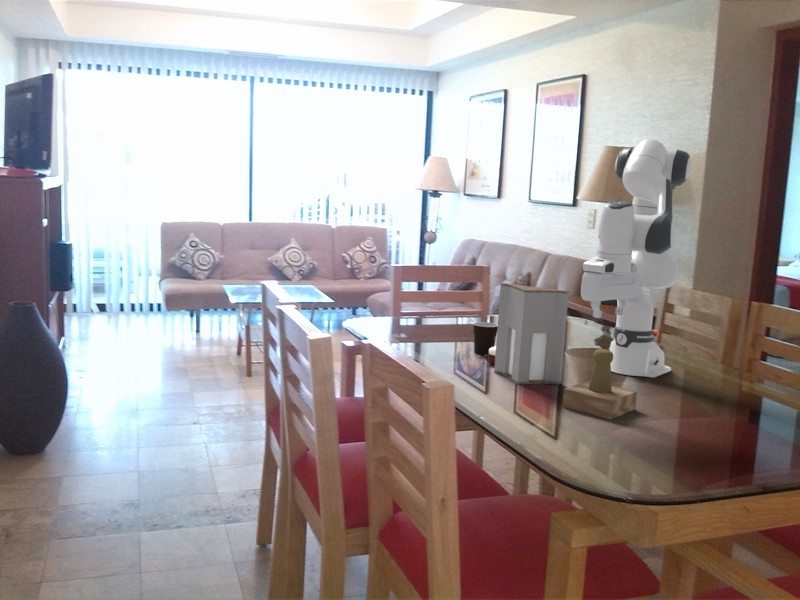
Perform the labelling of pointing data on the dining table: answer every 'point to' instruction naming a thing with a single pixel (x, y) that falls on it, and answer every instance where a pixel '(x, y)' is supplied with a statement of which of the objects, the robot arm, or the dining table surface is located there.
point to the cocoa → (491, 355)
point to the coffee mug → (484, 337)
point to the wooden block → (599, 400)
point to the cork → (601, 372)
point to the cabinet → (531, 334)
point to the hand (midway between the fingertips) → (608, 316)
